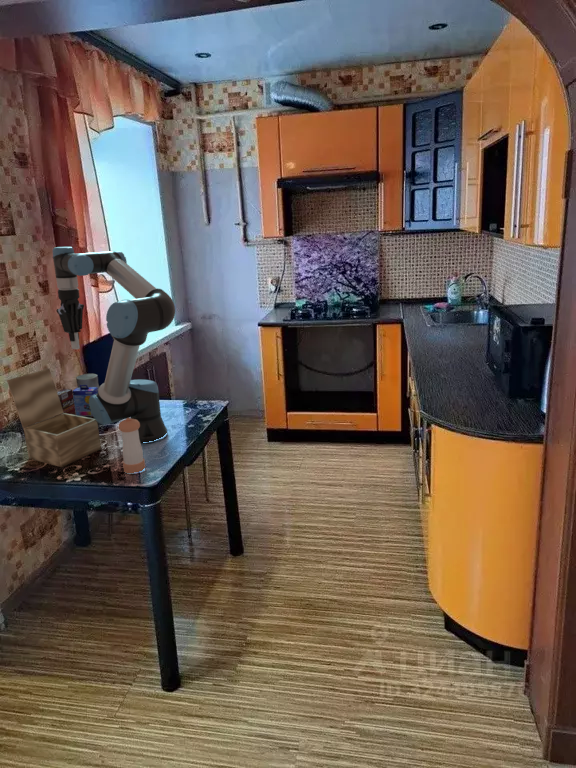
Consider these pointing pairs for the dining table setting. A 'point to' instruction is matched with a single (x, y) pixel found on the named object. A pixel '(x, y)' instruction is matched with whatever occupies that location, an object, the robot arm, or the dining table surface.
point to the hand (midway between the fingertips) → (75, 348)
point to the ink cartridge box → (83, 399)
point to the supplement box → (67, 401)
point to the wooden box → (62, 439)
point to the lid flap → (35, 397)
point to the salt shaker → (131, 446)
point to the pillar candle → (87, 380)
